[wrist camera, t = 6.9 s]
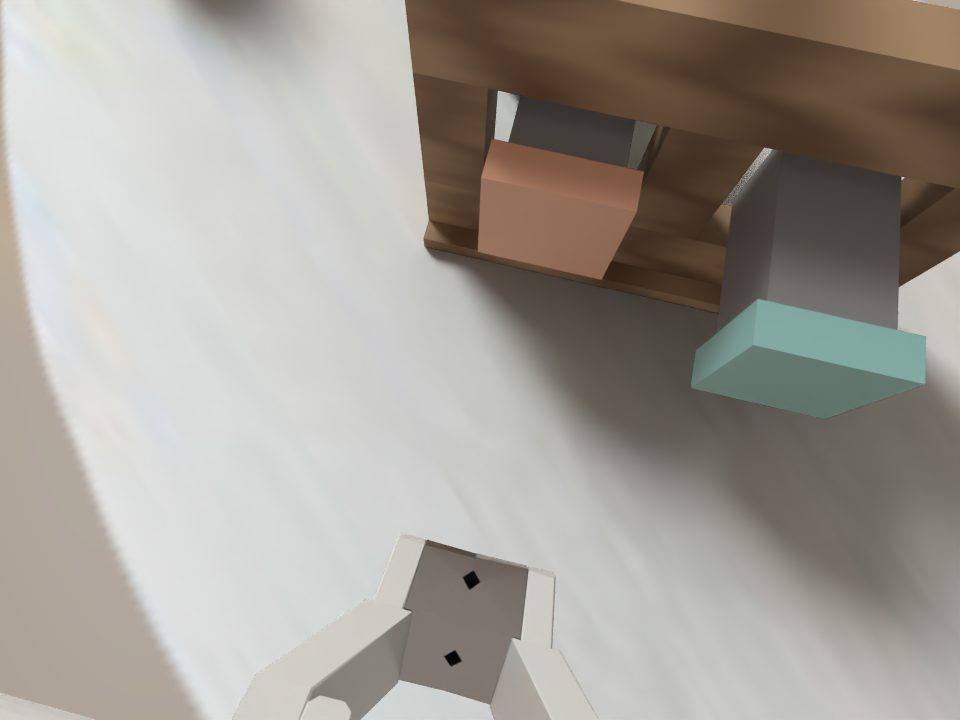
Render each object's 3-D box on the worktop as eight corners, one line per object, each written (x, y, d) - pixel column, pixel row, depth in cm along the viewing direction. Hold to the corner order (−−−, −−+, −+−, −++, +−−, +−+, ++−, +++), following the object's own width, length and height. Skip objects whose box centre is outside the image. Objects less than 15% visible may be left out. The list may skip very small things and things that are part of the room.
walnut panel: (845, 247, 29) (1169, -6, 16) (840, 340, 28) (1191, 150, 14) (450, 160, 30) (438, -148, 17) (424, 246, 29) (389, -16, 15)
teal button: (836, 231, 24) (927, 155, 19) (824, 419, 22) (925, 384, 17) (715, 205, 24) (776, 122, 20) (690, 388, 22) (753, 344, 17)
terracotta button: (632, 115, 26) (671, 17, 21) (601, 279, 23) (636, 211, 19) (520, 91, 26) (533, -11, 21) (477, 251, 24) (481, 177, 19)
